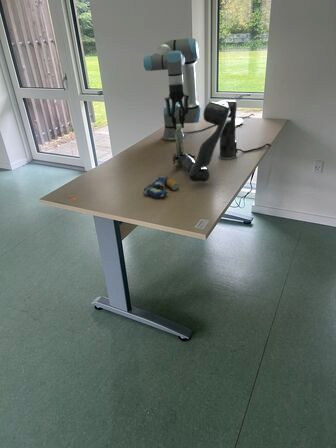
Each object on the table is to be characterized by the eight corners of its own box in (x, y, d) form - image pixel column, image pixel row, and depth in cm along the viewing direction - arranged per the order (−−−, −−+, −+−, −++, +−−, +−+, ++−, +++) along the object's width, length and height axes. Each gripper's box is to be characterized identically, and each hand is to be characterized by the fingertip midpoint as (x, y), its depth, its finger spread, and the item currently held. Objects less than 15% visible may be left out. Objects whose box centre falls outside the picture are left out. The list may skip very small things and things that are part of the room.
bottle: (183, 163, 202) (181, 125, 190) (185, 166, 199) (183, 126, 187) (176, 164, 202) (173, 126, 190) (178, 167, 198) (175, 127, 186)
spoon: (236, 135, 246) (236, 133, 245) (221, 135, 249) (221, 132, 248) (244, 120, 272) (244, 117, 271) (231, 120, 276) (231, 117, 274)
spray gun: (184, 183, 177) (159, 180, 184) (183, 176, 175) (158, 173, 182) (167, 201, 162) (140, 197, 168) (166, 193, 160) (139, 190, 166)
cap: (183, 127, 188) (183, 125, 187) (177, 129, 186) (177, 126, 185) (179, 126, 191) (179, 123, 190) (173, 127, 189) (173, 125, 188)
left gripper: (187, 80, 182) (189, 124, 194) (158, 85, 177) (162, 129, 190) (193, 82, 176) (195, 127, 188) (163, 86, 171) (166, 132, 183)
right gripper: (200, 155, 185) (189, 146, 199) (175, 159, 182) (166, 150, 196) (200, 168, 189) (190, 158, 203) (176, 172, 186) (167, 162, 200)
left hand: (178, 127), depth 189 cm, fingers closed on cap, 4 cm apart
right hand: (178, 154), depth 199 cm, fingers closed on bottle, 4 cm apart
